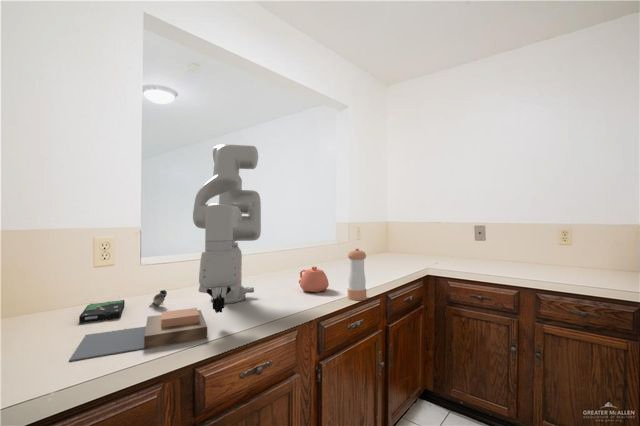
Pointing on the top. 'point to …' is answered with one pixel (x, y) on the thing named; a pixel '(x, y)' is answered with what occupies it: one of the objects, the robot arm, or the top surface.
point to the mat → (109, 343)
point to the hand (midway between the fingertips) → (218, 311)
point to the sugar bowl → (313, 280)
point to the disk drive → (102, 311)
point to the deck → (173, 332)
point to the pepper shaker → (357, 276)
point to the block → (179, 317)
